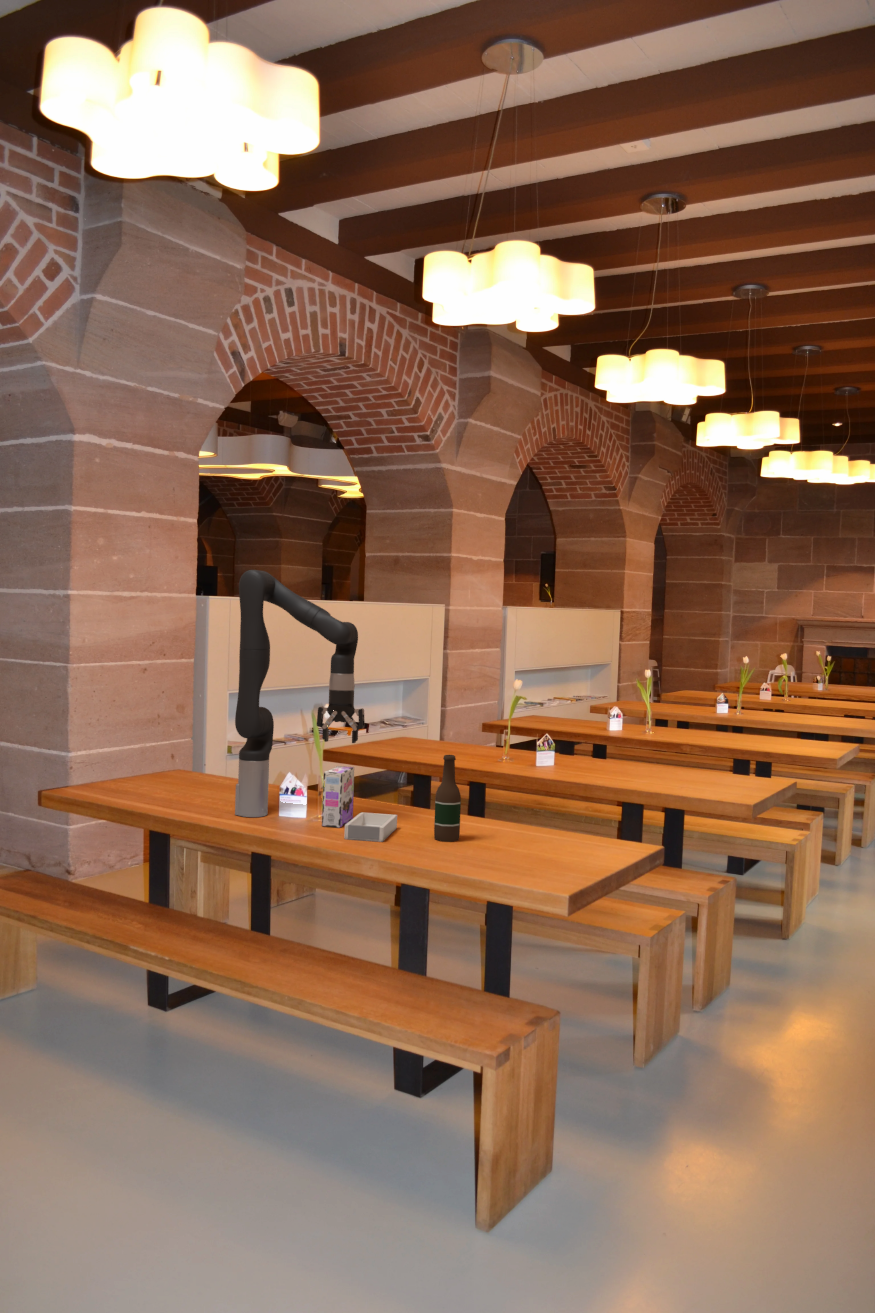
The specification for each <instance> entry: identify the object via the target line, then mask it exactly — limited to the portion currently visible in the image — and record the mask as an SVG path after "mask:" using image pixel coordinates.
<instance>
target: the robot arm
mask: <svg viewBox="0 0 875 1313" xmlns="http://www.w3.org/2000/svg"><path fill="white" fill-rule="evenodd" d="M238 593H239V594H238V596H239V597H238V598H239V608H240V609H239V610H240V624H239V625H240V627H239V628H240V630H239V631H240V632H239V654H238V655H239V660H238V661H239V662H238V663H239V666H238V667H239V672H238V694H237V700H236V702H237V703H236V708H235V710H236V711H235V718H234V719H235V720H234V725H235V729H236V732H237V734H238V735H239V736H240V737H242V738H243V739H246V741H245V743H244V745H243V746H242V747H241V749H240V750H239V752H238V778H237V783H236V784H235V795H234V796H235V797H234V798H235V800H234V815H235V816H239V817H244V818H246V817H247V818H261V817H266V816H268V810H269V779H270V754H271V752H272V750H273V741H274V728H275V727H274V725H275V723H274V722H275V721H274V717H273V715H272V712H271V710H269V709H268V708H266V707H264V706H260V695H261V691H262V690H261V689H262V686H263V685H264V684H263V683H264V682H265V679H266V676H267V675H268V672H269V669H270V668H269V667H270V664H271V663H270V662H271V642H270V636H269V633H268V631H267V630H268V629H267V628H266V624H265V619H264V604H265V603H264V602H267V603H268V604H269V603H270V604H273V605H275V606H278V607H279V608H281V609H282V610H284V611H285V612H287V613H288V614H289V615H290V616H291V617H292V618H294V619H295V620H296V621H298V622H299V623H301V625H303V626H305V627H307V628H309V629H311V630H313V631H314V632H317V633H318V634H319V635H320V636H321V637H323V638H324V639H325V640H327V641H328V642H330V643H332V644H334V645H335V651H334V653H333V655H331V658H330V671H329V672H330V673H329V674H330V675H329V681H328V706H327V707H325V706H318V708H317V715H316V717H317V718H316V727H319V728H321V729H322V740H323V741H324V742H325V743H326V742H329V735H330V734H329V733H330V731H329V730H330V729H329V727H330V726H331V725H332V723H333V722H335V723H347V724H348V725H349V726H350V727H351V729H352V732H351V744H355V743H357V741H358V739H359V731H360V730H362V729H364V728H365V727H366V726H365V722H366V721H365V709H364V708H355V656H356V653H357V652H356V651H357V649H358V641H359V632H358V629H357V626H356V625H355V624H354V623H352V622H349V621H341V620H339V619H337V618H336V617H333V616H332V615H331V613H330V612H329V611H327V610H326V609H324V608H322V607H321V606H320V605H317V604H315V603H314V602H312V601H310V600H308V599H306V598H304V597H302V596H300V595H299V594H297V593H295V592H294V591H292V590H291V589H289V588H288V587H286V585H284V584H283V583H281V582H280V581H279V580H278V579H277V578H275V577H274V576H273V575H272V574H270V573H269V572H268V571H265V570H258V569H250V570H246V571H245V572H243V574H241V576H240V579H239V583H238ZM333 710H334V711H333ZM326 712H327V713H328V715H329V717H328V718H327V719H326V721H325V722H324V716H325V714H326ZM355 714H356V716H357V717H358V724H357V723H356V721H355V719H354V718H353V716H354V715H355ZM327 725H328V727H327Z"/></svg>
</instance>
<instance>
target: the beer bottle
mask: <svg viewBox="0 0 875 1313" xmlns="http://www.w3.org/2000/svg"><path fill="white" fill-rule="evenodd" d="M456 758H457V757H456V755H453V754H444V755H443V769H442V770H443V771H442V780H441V782H440V785H439V786H438V787H437V790H436V792H435V799H434V824H433V826H434V827H433V834H434V835H433V837H434V840H435V841H439V842H442V843H443V842H446V843H453V842H457V841H459V840H460V833H461V832H460V831H461V808H462V807H461V805H462V804H461V803H462V802H461V800H462V798H461V792H460V788H459V787H458V785H457V783H456V773H455V772H456V763H455V761H456V760H457V759H456Z"/></svg>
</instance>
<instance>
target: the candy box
mask: <svg viewBox="0 0 875 1313" xmlns="http://www.w3.org/2000/svg"><path fill="white" fill-rule="evenodd" d="M324 781H325V787H324ZM354 788H355V767H354V766H344V765H343V766H342V765H336V766H334V767H333V768H331V769H328V770H325V771H323V787H322V811H321V812H322V814H321V826H322V827H327V828H328V827H330V828H337V829H338V828H342V827H343V826H345V824H347V823H348V822H349V821H351V820H352V819H353V818H354V794H355V792H354V790H355V789H354Z"/></svg>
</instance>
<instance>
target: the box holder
mask: <svg viewBox="0 0 875 1313" xmlns="http://www.w3.org/2000/svg"><path fill="white" fill-rule="evenodd" d="M397 827H398V814H390V813H389V814H388V813H374V812H360V813H358V814H357V815H355V816H353V819H352V820H351V821H349V822H348V823H346V824H345V825H344V836H343V837H344V838H343V839H344V840H349V841H350V840H351V841H363V842H379V843H384V842H385V840H386V839H388V838H389V836H390V835H392V833H393V832H395V831H396V830H397Z"/></svg>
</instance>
